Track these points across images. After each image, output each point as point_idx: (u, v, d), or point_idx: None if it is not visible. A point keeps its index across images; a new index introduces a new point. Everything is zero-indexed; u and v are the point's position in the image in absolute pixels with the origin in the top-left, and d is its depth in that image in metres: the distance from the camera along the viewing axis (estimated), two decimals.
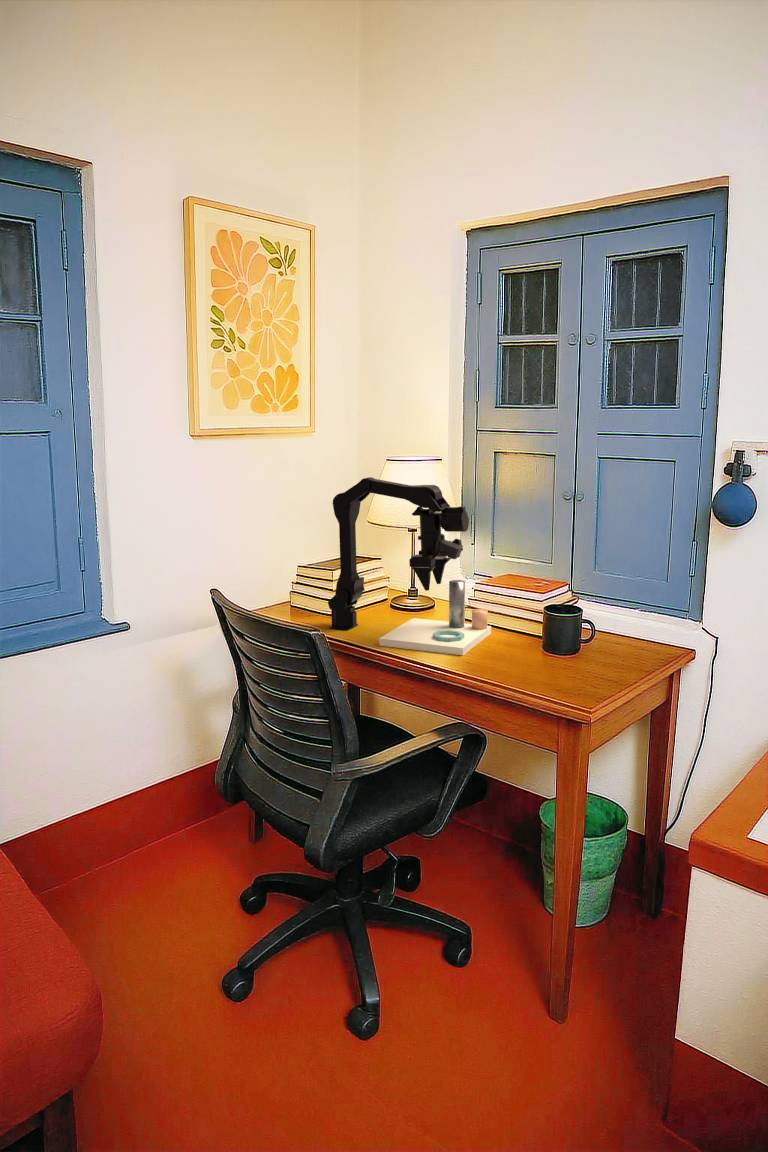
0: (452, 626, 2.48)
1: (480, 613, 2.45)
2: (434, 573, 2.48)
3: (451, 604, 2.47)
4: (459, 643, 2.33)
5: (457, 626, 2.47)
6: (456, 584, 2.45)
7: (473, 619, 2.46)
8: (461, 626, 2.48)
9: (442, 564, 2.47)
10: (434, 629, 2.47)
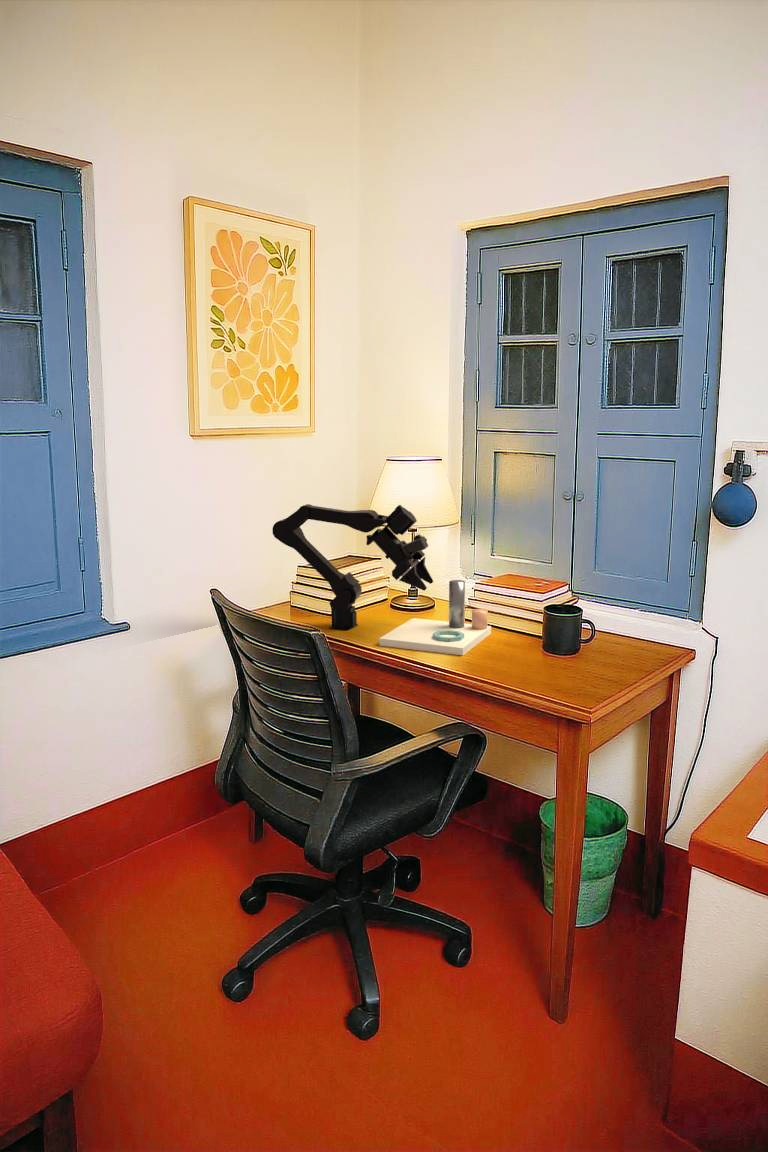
0: (452, 626, 2.48)
1: (480, 613, 2.45)
2: (422, 577, 2.54)
3: (451, 604, 2.47)
4: (459, 643, 2.33)
5: (457, 626, 2.47)
6: (456, 584, 2.45)
7: (473, 619, 2.46)
8: (461, 626, 2.48)
9: (422, 565, 2.54)
10: (434, 629, 2.47)
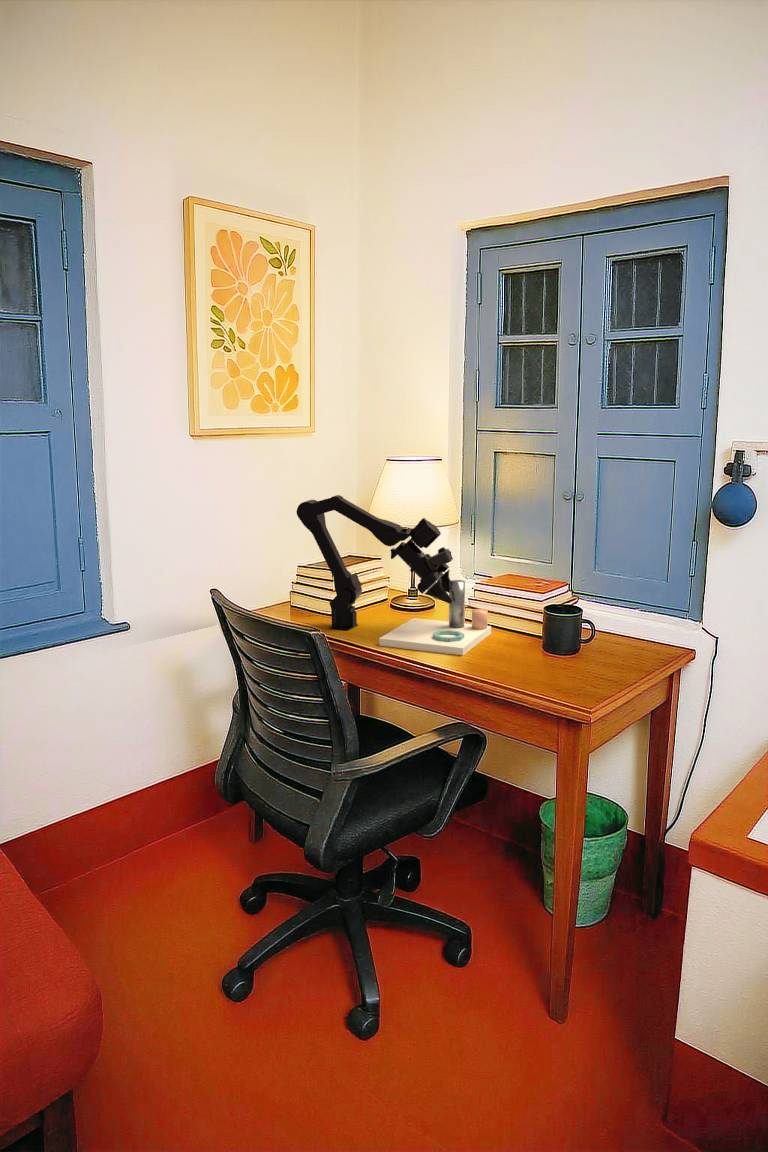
0: (452, 626, 2.48)
1: (480, 613, 2.45)
2: (447, 590, 2.53)
3: (451, 604, 2.47)
4: (459, 643, 2.33)
5: (457, 626, 2.47)
6: (456, 584, 2.45)
7: (473, 619, 2.46)
8: (461, 626, 2.48)
9: (446, 578, 2.53)
10: (434, 629, 2.47)
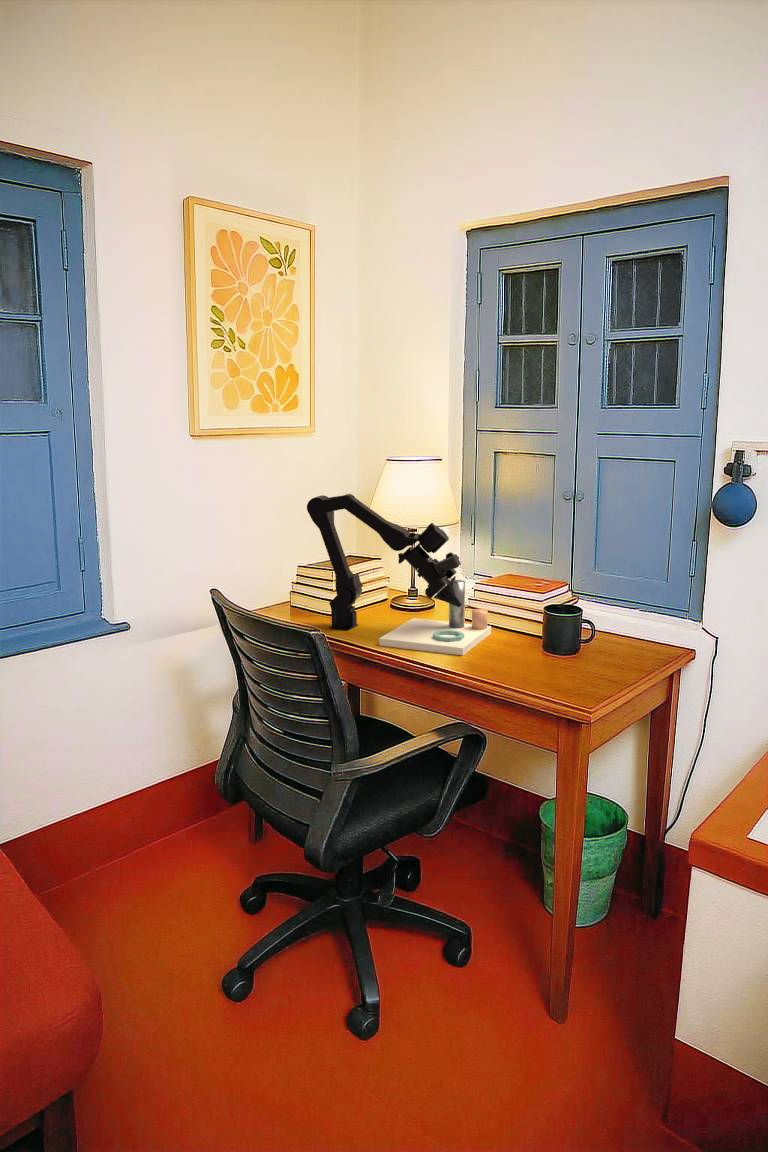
0: (452, 626, 2.48)
1: (480, 613, 2.45)
2: None
3: (451, 604, 2.47)
4: (459, 643, 2.33)
5: (457, 626, 2.47)
6: (456, 584, 2.45)
7: (473, 619, 2.46)
8: (461, 626, 2.48)
9: None
10: (434, 629, 2.47)
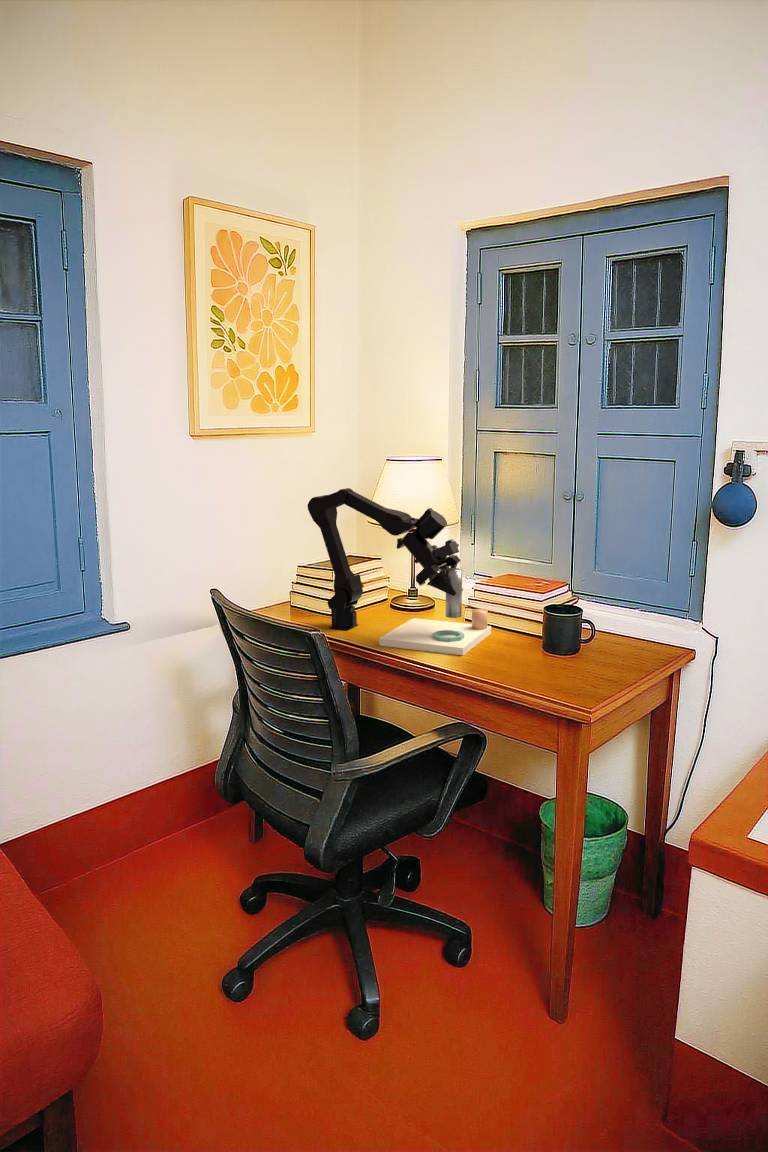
0: (447, 615, 2.40)
1: (480, 613, 2.45)
2: None
3: None
4: (459, 643, 2.33)
5: (452, 616, 2.39)
6: (451, 572, 2.37)
7: (473, 619, 2.46)
8: (457, 616, 2.39)
9: None
10: (434, 629, 2.47)
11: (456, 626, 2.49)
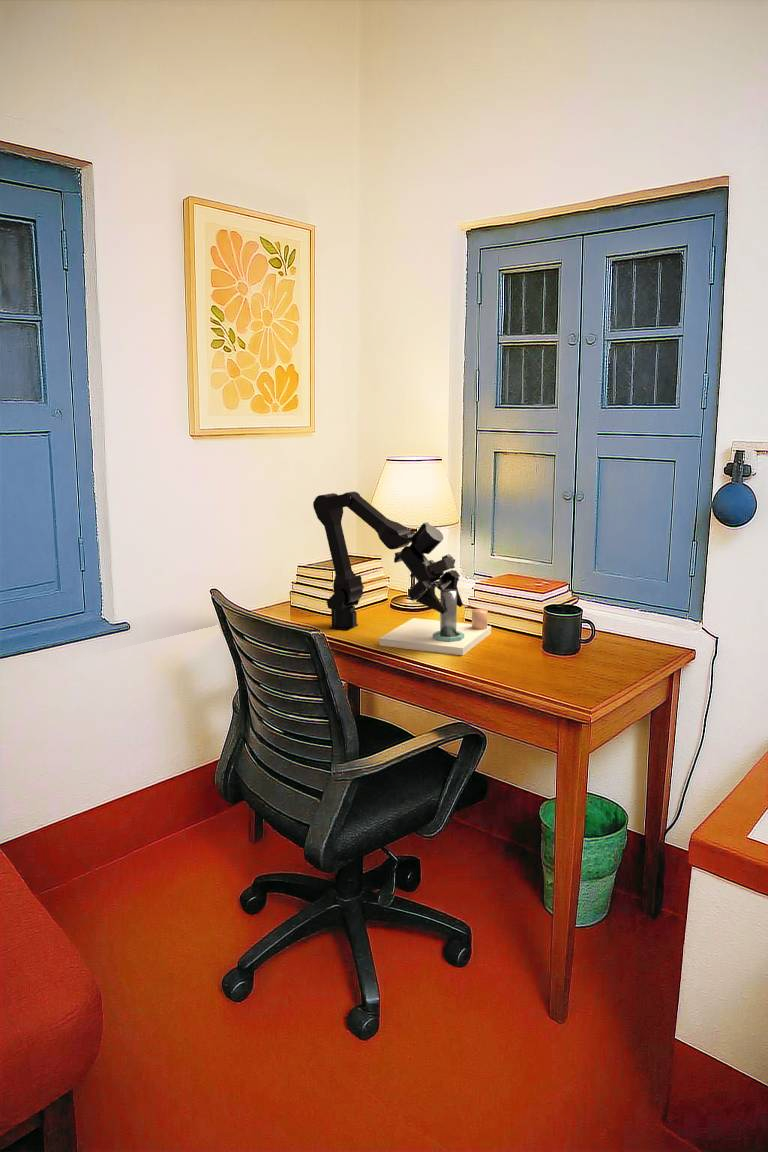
0: None
1: (480, 613, 2.45)
2: None
3: (440, 613, 2.36)
4: (459, 643, 2.33)
5: None
6: (445, 593, 2.34)
7: (473, 619, 2.46)
8: None
9: (452, 587, 2.40)
10: (434, 629, 2.47)
11: (456, 626, 2.49)
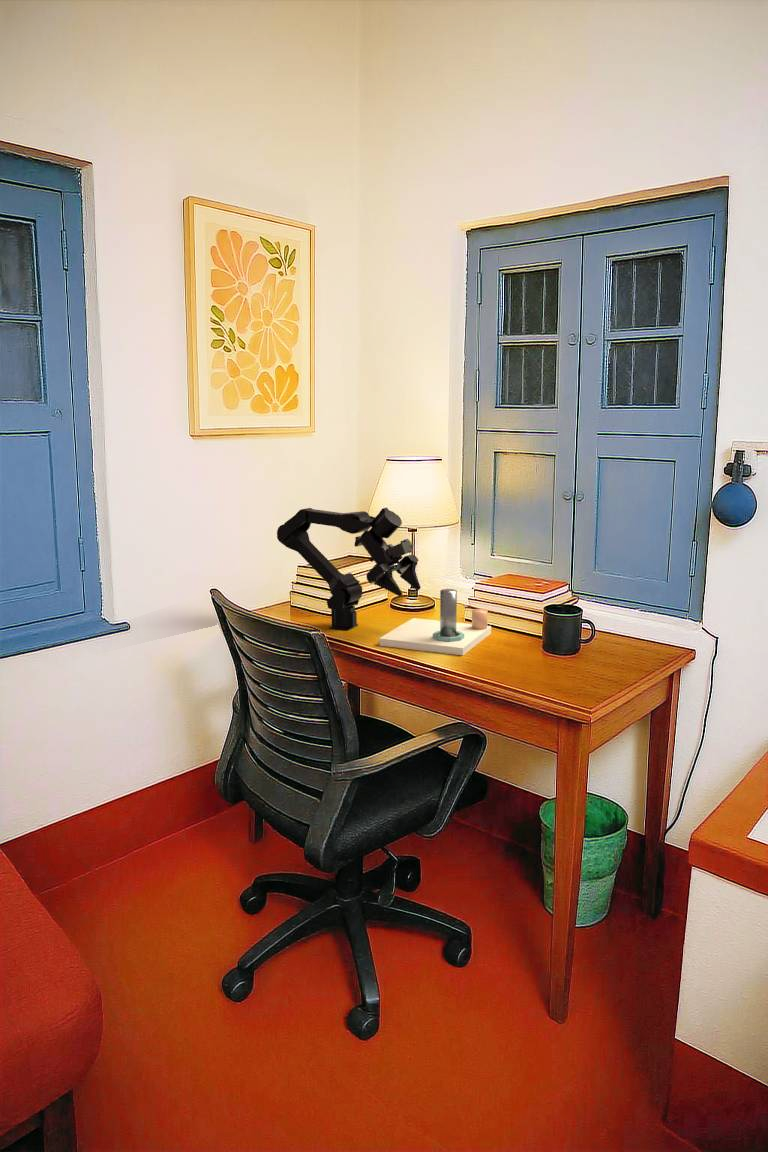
0: None
1: (480, 613, 2.45)
2: (410, 583, 2.48)
3: (440, 613, 2.36)
4: (459, 643, 2.33)
5: None
6: (445, 593, 2.34)
7: (473, 619, 2.46)
8: None
9: (411, 571, 2.47)
10: (434, 629, 2.47)
11: (456, 626, 2.49)
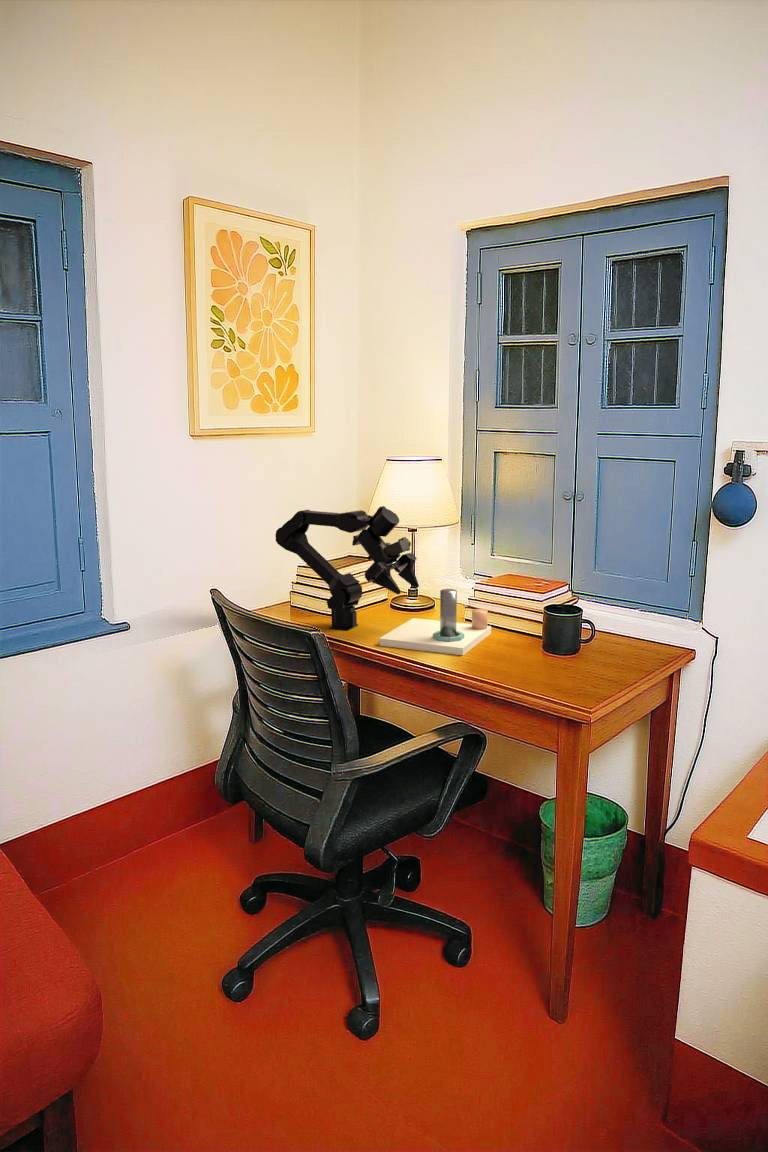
0: None
1: (480, 613, 2.45)
2: (409, 581, 2.48)
3: (440, 613, 2.36)
4: (459, 643, 2.33)
5: None
6: (445, 593, 2.34)
7: (473, 619, 2.46)
8: None
9: (409, 569, 2.48)
10: (434, 629, 2.47)
11: (456, 626, 2.49)
